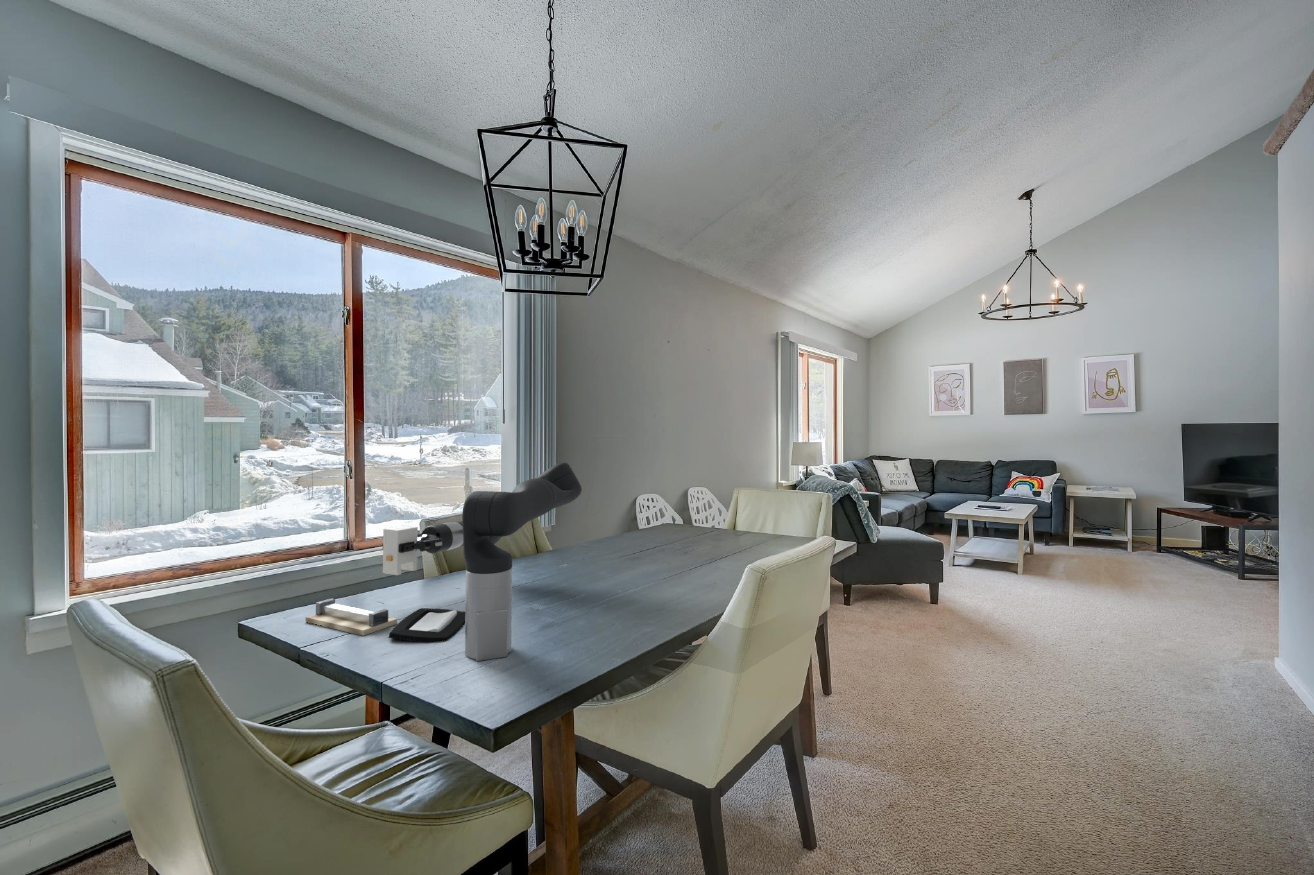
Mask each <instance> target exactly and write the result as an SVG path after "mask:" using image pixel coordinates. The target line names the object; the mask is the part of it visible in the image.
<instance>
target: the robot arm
mask: <svg viewBox="0 0 1314 875" xmlns="http://www.w3.org/2000/svg"><path fill="white" fill-rule="evenodd" d="M582 490H583V489H582V485H581V483H580V481H579V480H578V477H577V476H576V474H575V472H574V471H573V469H572V467H571V466H570V464H569V463H568V462H565V461H564V462H560V463H557V464H555V465H552V466H551V467H549V468H547V469H545V471H543V472H542V473H541V474H539V475H538V476H537V477H535V478H531V479H527V480H524V481H522V482H521V483H519V484H517V485H516V486H515V487H514V488H513V490H512V491H493V490H491V491H490V490H489V491H488V490H484V491H483V490H477V491H471V492H470V493H469V494H468V495H467V496H466V498H465V500H464V502H463V506H462V514H461V515H462V517H461V519H462V520H461V521H453V522H451V521H450V522H443V523H438V524H432V525H428V526H426V527H425V528H423V530H422V532H418V537H417V540H414V541H413V542H407V543H401V544H399V552H400V553H404V552H408V551H417V552H418V551H419V552H421V553H422V552H423V553H424V552H427V553H428V554H438V553H441V552H446V551H451V550H454V549H456V548H457V549H458V548H459V547H460V548H461V547H463V558H464V561H465V611H464V612H465V624H464V626H465V630H464V634H465V638H464V639H465V641H464V644H465V645H464V646H465V647H464V648H465V649H464V654H465V656H466V657H468V658H470V659H474V660H475V662H478V661H479V662H481V661H484V660H485V661H486V660H492V659H497V658H498V659H500V658H505V657H508V655H509V653H510V652H511V651H512V632H513V630H512V629H513V628H512V625H513V624H512V623H513V622H512V619H513V618H512V614H513V612H512V611H513V610H512V609H513V607H512V606H513V604H512V603H513V593H512V592H513V556H512V555H511V553H510V552H508V551H507V550H504V549H502V548H500V547H498V546H497V545H495V544H497V543H498V542H499V541H500V540H501V538H503V537H508V536H511V535H513V534H514V533H516V532H518V531H519V530H520V529H521V528H523V526H525V525H526V524H527V523H528V522H531V521H532V520H534V519H537V518H539V517H541V516H543V515H545V514H547V513H549V512H550V511H552V510H554V509H555V508H556V509H557V508H559V507H562V506H565V505H567V504H570V503H572V502H573V501H575V500H576V499H577V498H579V497H580V495H581V494H582Z"/></svg>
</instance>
